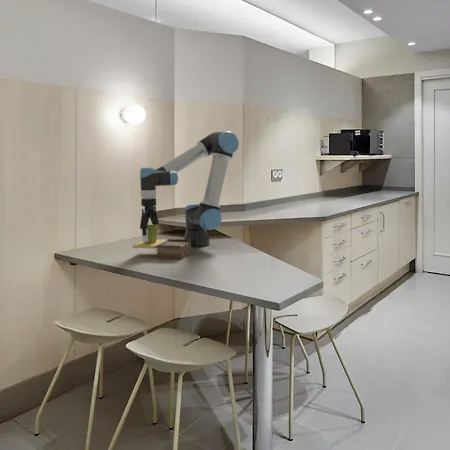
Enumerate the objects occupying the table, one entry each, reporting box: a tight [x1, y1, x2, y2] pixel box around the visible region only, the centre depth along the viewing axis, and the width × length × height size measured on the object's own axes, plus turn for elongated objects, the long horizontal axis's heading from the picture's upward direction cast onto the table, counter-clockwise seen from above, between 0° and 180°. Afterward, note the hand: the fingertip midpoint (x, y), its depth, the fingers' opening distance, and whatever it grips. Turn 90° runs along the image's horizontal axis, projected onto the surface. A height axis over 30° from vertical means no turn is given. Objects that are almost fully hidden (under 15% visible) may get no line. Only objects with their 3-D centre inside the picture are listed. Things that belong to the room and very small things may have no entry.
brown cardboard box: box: [156, 238, 192, 261], centre depth 254 cm, size 18×12×7 cm, turn 168°
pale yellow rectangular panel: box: [132, 239, 168, 249], centre depth 257 cm, size 19×1×12 cm
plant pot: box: [144, 224, 160, 243], centre depth 256 cm, size 9×9×9 cm
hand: (150, 239), depth 256 cm, fingers open, 13 cm apart
